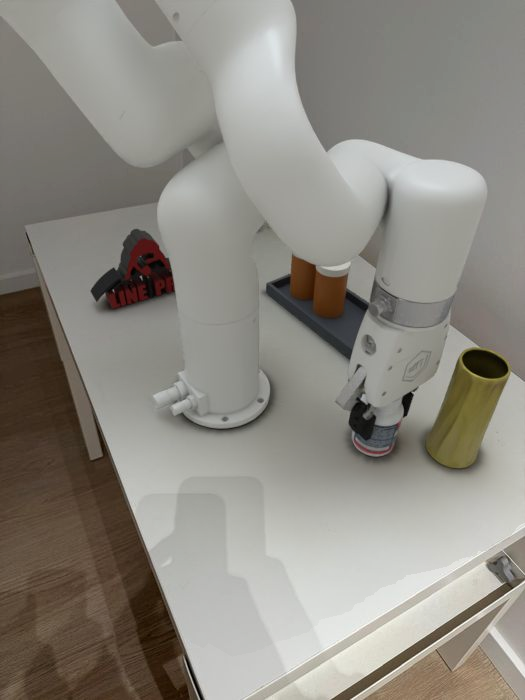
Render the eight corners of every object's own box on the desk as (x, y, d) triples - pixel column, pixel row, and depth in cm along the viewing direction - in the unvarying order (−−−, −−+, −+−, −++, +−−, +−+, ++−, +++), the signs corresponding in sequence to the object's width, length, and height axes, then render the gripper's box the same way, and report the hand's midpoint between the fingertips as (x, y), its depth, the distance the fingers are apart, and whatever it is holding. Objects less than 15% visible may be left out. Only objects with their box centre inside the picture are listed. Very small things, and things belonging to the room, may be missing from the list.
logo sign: (99, 313, 83) (84, 252, 76) (93, 302, 85) (78, 242, 78) (201, 283, 90) (196, 225, 83) (192, 274, 92) (187, 216, 85)
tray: (356, 364, 74) (358, 354, 73) (266, 292, 88) (266, 283, 87) (404, 338, 79) (407, 328, 78) (311, 274, 93) (312, 264, 91)
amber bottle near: (326, 322, 81) (332, 274, 75) (305, 306, 84) (309, 258, 78) (350, 311, 83) (358, 263, 77) (329, 296, 87) (334, 249, 81)
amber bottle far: (302, 304, 85) (305, 256, 79) (283, 289, 88) (285, 242, 82) (326, 294, 87) (331, 246, 81) (306, 280, 90) (310, 233, 84)
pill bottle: (397, 458, 62) (413, 408, 56) (353, 457, 62) (365, 407, 56) (389, 424, 66) (404, 374, 60) (349, 423, 66) (359, 373, 60)
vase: (438, 422, 66) (468, 336, 57) (484, 446, 63) (524, 360, 54) (416, 451, 63) (445, 365, 53) (464, 478, 60) (503, 392, 51)
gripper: (375, 350, 43) (346, 477, 55) (498, 286, 51) (449, 409, 63) (317, 306, 48) (302, 432, 60) (438, 253, 55) (403, 374, 67)
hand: (377, 419), depth 61 cm, fingers closed on pill bottle, 5 cm apart
